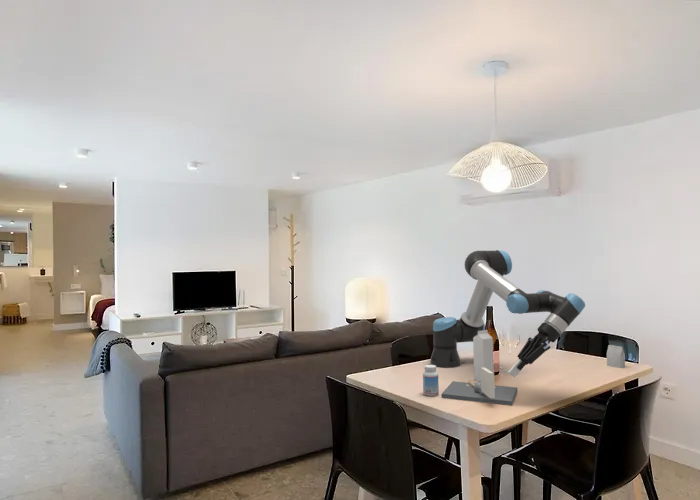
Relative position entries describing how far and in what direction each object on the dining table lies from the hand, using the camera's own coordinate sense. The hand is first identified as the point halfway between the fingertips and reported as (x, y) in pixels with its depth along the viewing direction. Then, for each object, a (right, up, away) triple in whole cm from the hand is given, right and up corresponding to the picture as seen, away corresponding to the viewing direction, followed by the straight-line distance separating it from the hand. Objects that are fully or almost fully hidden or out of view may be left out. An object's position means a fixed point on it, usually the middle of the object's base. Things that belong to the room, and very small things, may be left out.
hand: (510, 374), depth 174 cm
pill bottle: (-28, -11, +12) cm, 32 cm away
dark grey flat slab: (-9, -11, +11) cm, 17 cm away
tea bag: (+70, -10, +53) cm, 89 cm away
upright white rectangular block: (-9, -9, +8) cm, 15 cm away
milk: (-1, -11, +31) cm, 33 cm away
